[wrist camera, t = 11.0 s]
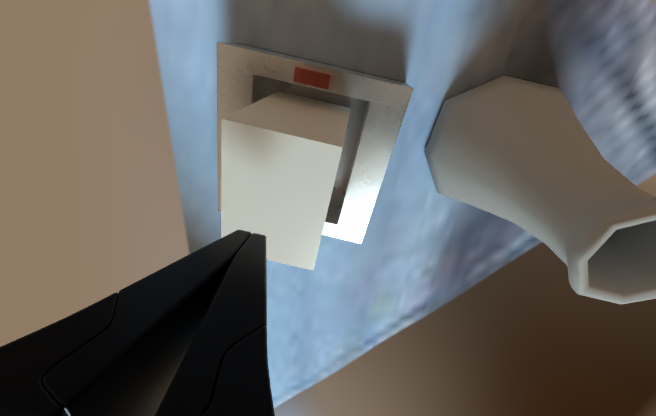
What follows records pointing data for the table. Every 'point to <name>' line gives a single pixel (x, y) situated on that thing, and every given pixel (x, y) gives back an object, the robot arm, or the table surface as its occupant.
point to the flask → (547, 184)
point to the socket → (332, 87)
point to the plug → (281, 172)
